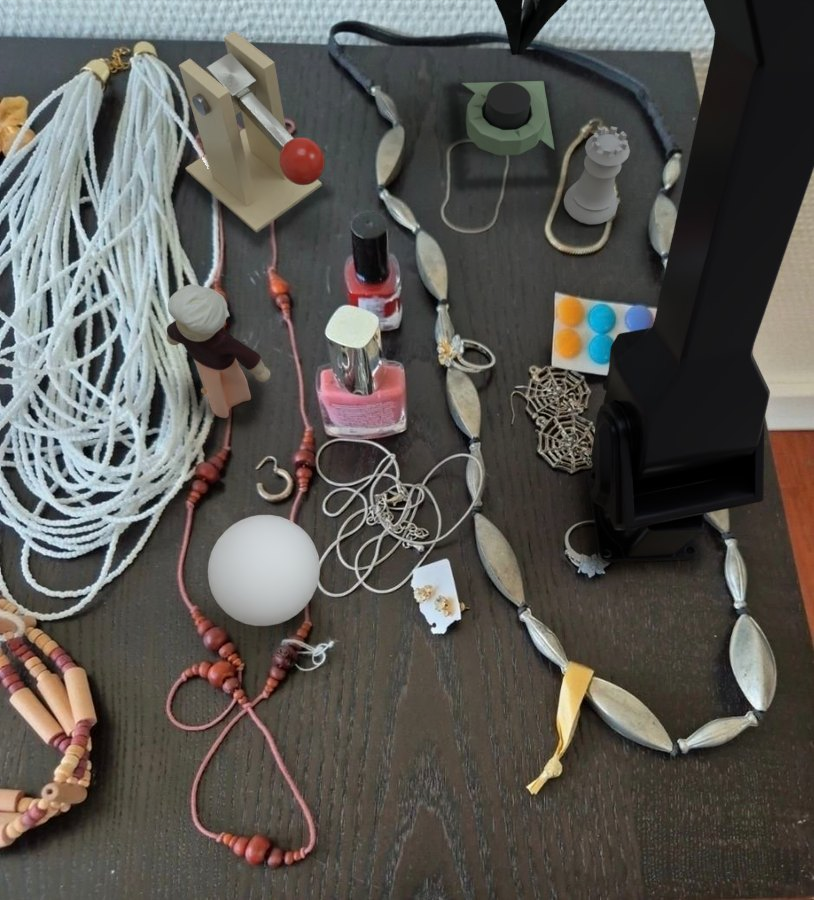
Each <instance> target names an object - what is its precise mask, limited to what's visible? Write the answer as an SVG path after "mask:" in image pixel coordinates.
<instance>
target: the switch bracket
mask: <svg viewBox="0 0 814 900" xmlns="http://www.w3.org/2000/svg"><path fill="white" fill-rule="evenodd" d="M223 39H224V40H223V41H224V44H225V49H226V52H227V54H228V53H230V52H231V53H232V54H233V56H234V57H235V58H236V59H237V60H238V61H239V62H240V63H241V64H242V65H243V66H244V67H245V69H246V70H247V71H248V72H249V73H250V74H251V75H252V76H253V77H254V78H255V79H256V98H257V99H258V100H259V101H260V102H261V103H262V104H263V105H264V106H265V107H266V108H267V110H268V111H269V112H270V113H271V114H272V115H273V116H274V117H275V118H276V119H277V120H278V121H279V123H280V124H281V125H282V126H283V127H284V128H285V129H286V130H287V127H286V121H285V115H284V110H283V103H282V98H281V93H280V86H279V82H278V76H277V75H278V74H277V69H276V64H275V61H274V60H272V59H271V58H270V57H269V56H268V55H266V54H265V53H264V52H263V51H261V50H260V49H258V48H257V47H256V46H255V45H253V44H252V43H251V42H249V40H247V39H246V38H244V37H243V36H242V35H240V34H239V33H238V32H236V31H235V30H233V31H232V32H230V33H228V34H227V35H225V36H224V37H223ZM178 68H179V71H180V74H181V77H182V81H183V84H184V87H185V90H186V94H187V97H188V101H189V104H190V108H191V111H192V113H193V118H194V122H195V124H196V127H197V130H198V134H199V137H200V140H201V144H202V148H203V150H204V153H205V154H204V155H203V156H205V157H206V160H207V162H208V164H209V167H208V168H209V169H207V166H206V165H205V163H204V162H203V160H202V156H201V157H199V158H198V159H196V160H195V161H193V162H192V163H191V164H189V165H187V166H186V167H185V171H186V172H187V173H188V174H190V176H191V177H192V178H194V179H195V180H196V181H197V182H198V183H199V184H200V185H201V186H202V187H204V188H205V189H206V190H207V191H208V192H209V193H210V194H211V195H213V196H214V197H215V198H216V199H217V200H218V201H219V202H220V203H222V204H223V205H224V206H225V207H226V208H227V209H229V210H230V211H231V212H232V213H233V214H234V215H235V216H236V217H238V218H239V219H240V220H241V221H242V222H243V224H246V226H248V228H249V229H251V230H252V231H253V232H254V233H258V232H260V231H261V230H263V229H264V228H265V227H267V226H268V225H270V224H271V223H272V222H274V221H275V220H276V219H278V218H279V217H281V216H282V215H283V214H285V213H286V212H287V211H289V210H291V209H292V208H293V207H295V206H296V205H297V204H298V203H300V202H302V201H303V200H304V199H306V198H307V197H308V196H310V195H311V194H312V193H314V192H315V191H317V190H318V189H320V187H322V186H323V183H322V182H321V181H320V180H319V178H318V179H317V180H316V181H315V182H313V183H311V184H308V185H298V184H295V183H292V182H291V181H289V180H288V179H287V178H286V177H285V176H284V174H283V173H282V171H281V168H280V164H279V157H280V151H279V150H278V149H277V148H276V147H275V146H274V145H273V144H272V143H271V142H270V140H269V139H268V138H267V137H266V136H265V135H264V134H263V133H262V132H261V131H260V130H259V128H258V127H257V126H256V125H255V124H254V123H253V122H252V121H251V120H250V119H249V118H248V116H247V115H246V114H245V113H244V112H243V111H242V112H240V114H241V116H242V122H243V125H244V128H243V129H241V130H240V128H239V124H238V121H237V115H236V116H235V111H234V107H233V103H232V99H231V95H230V91H229V90H228V89H226V88H225V87H224V86H223V85H222V84H220V83H219V82H218V81H217V80H215V79H214V78H213V77H212V76H211V75H209V74H208V73H207V72H206V70H205V69H204V68H202V67H201V66H200V65H199V64H197V63H196V62H195V61H194V60H192V59H191V58H187V59H186V60H185V61H183V62H181V63H180V64H179V65H178Z"/></svg>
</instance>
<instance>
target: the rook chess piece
mask: <svg viewBox="0 0 814 900" xmlns="http://www.w3.org/2000/svg"><path fill="white" fill-rule="evenodd" d="M606 129H607V128H606V127H605V126H602V127H599V128H598V129H597V132H594V133H593V135H591V136H590V137H589V138H588V139H587V140H586V143H585V145H584V148H585V153H586V156H585V157H584V160H583V165H584V170H583V171H582V174H581V175H580V178H579V179H578V180H577V181H575V183H573V184H571V186H570V187H569V188H568V189H567V191H565V194H564V198H563V206H564V209H565V210H566V212H567V213H568V214H569V216H570V217H572V218H573V219H574V220H576V221H577V222H579V223H581V224H584V225H589V226H591V225H601V224H603V223H605V222H607V221H610V220H611V219H612V218H613V217H614V216H615V215H616V213H617V210H618V206H619V201H618V198H617V194H616V190H615V183H616V177H617V175H618V174H619V173H620V172H621V170H622V166H623V165H622V164H623V163H624V162H625V161H626V160H627V159H628V158H629V156H630V154H631V149H630V145H629V143H628V142H629V140H628V139H627V137H628V134H627V133H626V132H625V131H624V130H623V131H621V132H620V133H617V131H618V126H617V127H616V126H613V125H611V126H610V127H609V130H606Z"/></svg>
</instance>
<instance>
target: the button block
mask: <svg viewBox="0 0 814 900" xmlns="http://www.w3.org/2000/svg"><path fill="white" fill-rule="evenodd" d="M504 82H505V81H490V82H485V81H484V82H483V81H482V82H461V85H463V86H464V87H466V88H467V89H468V90H470V91H472V92H473V93H474V95H473V96H472V97H471V99H470V100H469V102H468V103H467V105H466V115H465V125H466V127H465V128H466V134H467V137H468V139H470V140H471V141H472V142H473V143H474V144H475V146H476V147H477V148H478V149H480V150H483V151H485V152H487V153H489V154H493V155H496V156H499V157H500V156H519V155H522V154H524V153H526V152H527V151H530V150H532V149H534V148H536V147H537V145H538V143H539V142H540V141H541V142H543V143H544V144H546V145H547V146H548V147H549V148H551V149H552V150H555V144H554V138H553V132H552V124H551V118H550V113H549V108H548V107H549V106H548V99H547V95H546V89H545V82H544V80H526V81H510V82H511V83H516V84H519V85H521V86H523V87H524V88H525V89H527V91H528V92H529V94H530V97H531V103H530V108H529V114H528V118H527V121H526V122H525V124H524V125H523V126H521V127H520V128H517V129H514V130H501V129H499V128H496V127H494V126H492V125H491V124H490V123H489V122H488V121H487V119H486V118H484V117H485V108H486V100H487V94H488V92H489V90H490V89H491V88H492V87H493V86H495V85H497V84H499V83H504Z"/></svg>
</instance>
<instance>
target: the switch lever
mask: <svg viewBox="0 0 814 900" xmlns="http://www.w3.org/2000/svg"><path fill="white" fill-rule="evenodd" d="M205 71H206V72H207V73H208V74H209V75H211V76H212V77H213V78H214V79H215V80H217V81H218V82H219V83H220V84H222V85H223V86H224V87H225V88H226V89H228V90H229V91H230V95H231V99H232V103H233V107H234V111H235V116H236V117H237V115H238V114H241V112H242V111H243V112H244V113H245V114H246V115H247V116H248V118H249V119H250V120H251V121H252V122H253V123H254V124H255V125H256V126H257V127H258V128H259V130H260V131H261V132H262V133H263V134H264V135H265V136H266V137H267V138H268V139H269V140H270V142H271V143H272V144H273V145H274V146H275V147H276V148H277V149H278V150H279V151H280V157H279V164H280V168H281V171H282V173H283V174H284V176H285V177H286V178H287V179H288V180H289V181H291V182H292V183H295V184H298V185H308V184H311V183H313V182H315V181H316V180H317V179H318V180H319V179H320V178H321V176H322V174H323V172H324V169H325V165H326V164H325V161H326V160H325V155H324V152H323V150H322V148H321V147H320V146H319V145H318V143H316V142H315V141H314V140H313V139H311V138H308V137H304V136H303V137H302V136H297V137H294V136H292V135H291V133H290V132H289V131H288V130H287V128H286V129H285V128H284V127H283V126H282V125H281V124H280V123H279V121H278V120H277V119H276V118H275V117H274V116H273V115H272V114H271V113H270V112H269V111H268V110H267V108H266V107H265V106H264V105H263V104H262V103H261V102H260V101H259V100H258V99H257V98H256V79H255V78H254V77H253V76H252V75H251V74H250V73H249V72H248V71H247V70H246V69H245V67H244V66H243V65H242V64H241V63H240V62H239V61H238V60H237V59H236V58H235V57H234V56H233V54H232V53H231V52H230V53H227V54H225V55H223V56H221V57H219V59H217V60H215V61H214V62H212V63H210V64H209V65H207V66H206V67H205Z"/></svg>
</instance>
